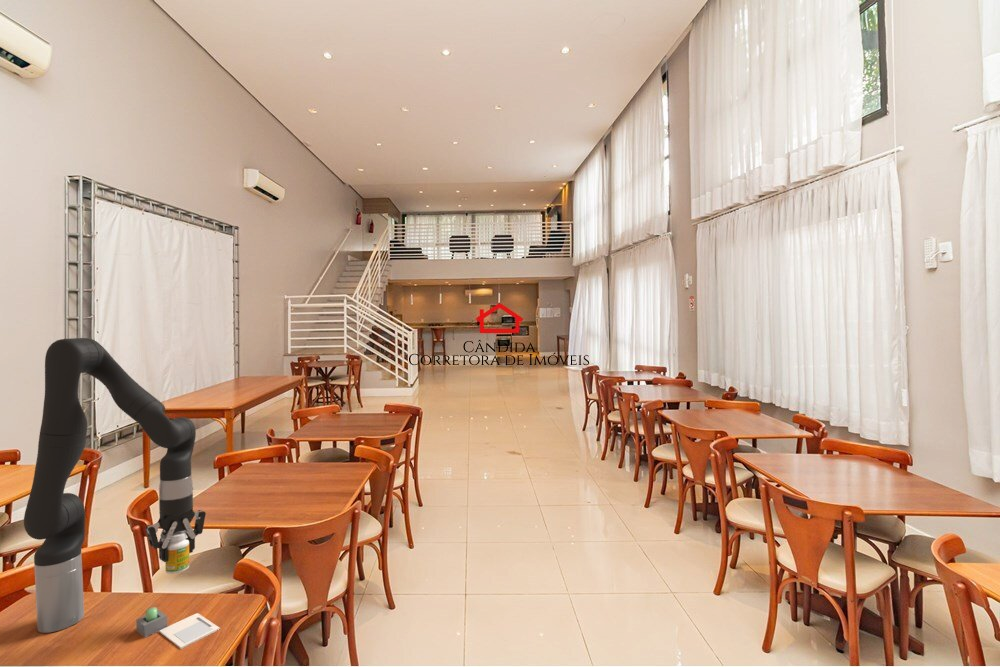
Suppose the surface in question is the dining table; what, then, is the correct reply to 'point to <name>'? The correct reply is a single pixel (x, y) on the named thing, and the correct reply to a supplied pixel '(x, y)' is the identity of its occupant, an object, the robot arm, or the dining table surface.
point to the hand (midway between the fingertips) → (177, 556)
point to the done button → (151, 614)
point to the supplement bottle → (178, 553)
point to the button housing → (151, 624)
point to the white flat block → (189, 630)
